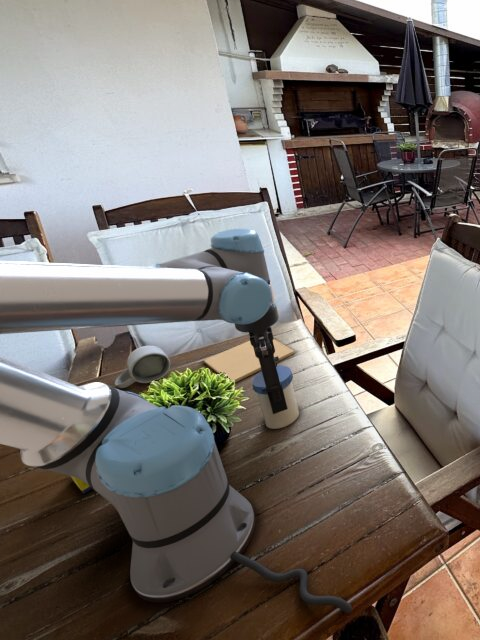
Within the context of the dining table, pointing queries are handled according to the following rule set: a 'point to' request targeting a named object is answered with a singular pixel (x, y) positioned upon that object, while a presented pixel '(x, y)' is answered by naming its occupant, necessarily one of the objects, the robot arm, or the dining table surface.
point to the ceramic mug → (144, 366)
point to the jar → (284, 416)
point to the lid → (284, 377)
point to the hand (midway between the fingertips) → (278, 399)
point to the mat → (243, 360)
